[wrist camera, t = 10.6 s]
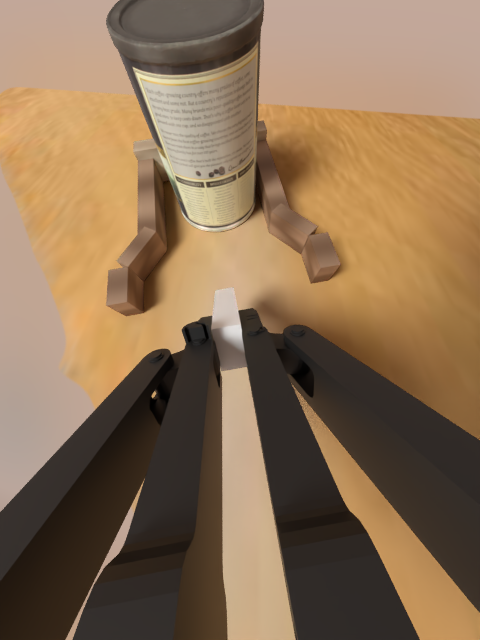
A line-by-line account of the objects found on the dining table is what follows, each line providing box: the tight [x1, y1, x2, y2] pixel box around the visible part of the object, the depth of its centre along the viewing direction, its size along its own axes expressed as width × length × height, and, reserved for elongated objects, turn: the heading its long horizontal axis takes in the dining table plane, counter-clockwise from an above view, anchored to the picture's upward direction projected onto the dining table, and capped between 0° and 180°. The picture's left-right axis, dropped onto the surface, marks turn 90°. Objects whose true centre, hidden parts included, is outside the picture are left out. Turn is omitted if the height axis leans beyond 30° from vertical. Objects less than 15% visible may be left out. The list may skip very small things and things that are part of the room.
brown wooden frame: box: [106, 120, 341, 316], centre depth 22 cm, size 22×23×4 cm
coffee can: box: [106, 0, 264, 232], centre depth 19 cm, size 10×10×14 cm
